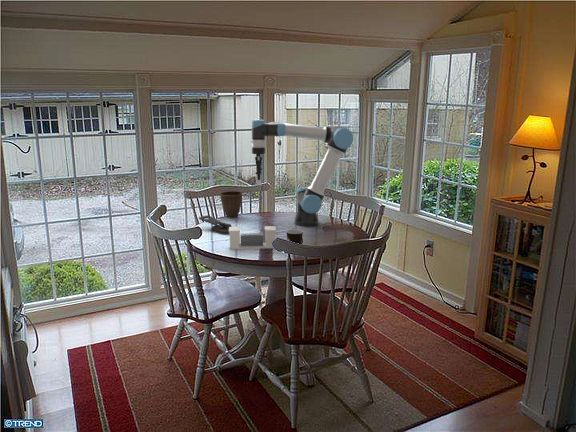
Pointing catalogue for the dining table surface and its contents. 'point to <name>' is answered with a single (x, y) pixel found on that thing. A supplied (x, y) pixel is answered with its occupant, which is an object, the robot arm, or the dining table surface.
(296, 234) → the coffee mug
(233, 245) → the white u-shaped cradle
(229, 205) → the plant pot
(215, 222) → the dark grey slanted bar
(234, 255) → the dining table surface
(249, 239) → the grey rectangular block
